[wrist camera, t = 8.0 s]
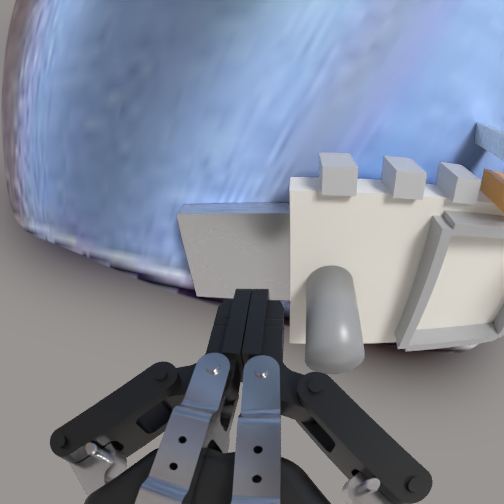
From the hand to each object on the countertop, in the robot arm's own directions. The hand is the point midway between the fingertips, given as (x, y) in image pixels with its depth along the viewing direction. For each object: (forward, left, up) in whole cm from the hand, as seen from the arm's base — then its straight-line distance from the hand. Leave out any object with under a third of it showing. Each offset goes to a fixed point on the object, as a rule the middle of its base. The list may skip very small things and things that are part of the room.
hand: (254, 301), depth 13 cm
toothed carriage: (+10, 0, -3) cm, 10 cm away
